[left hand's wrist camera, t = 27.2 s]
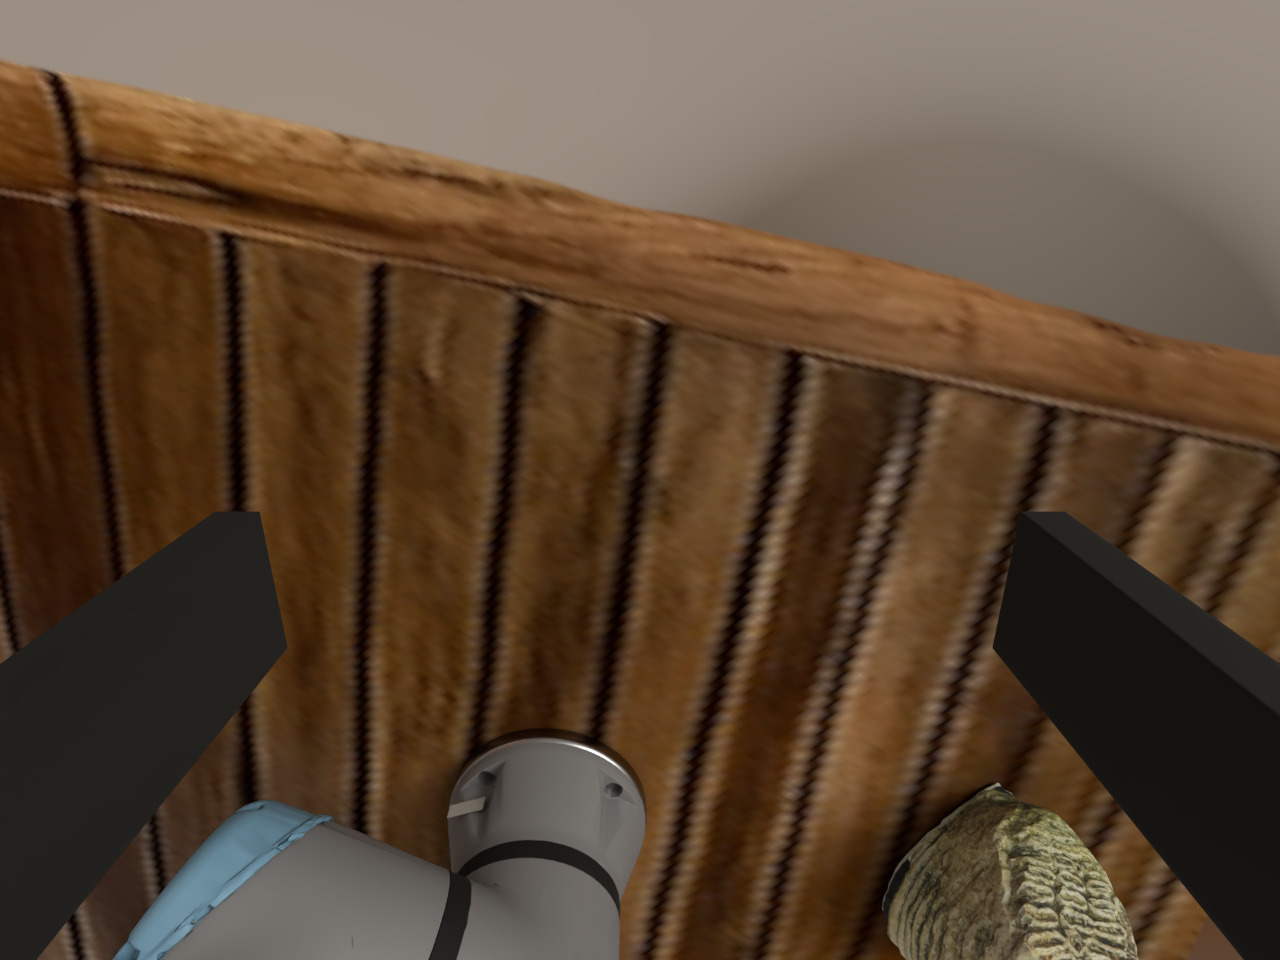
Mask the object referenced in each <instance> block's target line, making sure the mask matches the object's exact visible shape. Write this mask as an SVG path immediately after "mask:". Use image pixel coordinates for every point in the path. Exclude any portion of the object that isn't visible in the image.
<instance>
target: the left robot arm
mask: <svg viewBox="0 0 1280 960" xmlns="http://www.w3.org/2000/svg"><path fill="white" fill-rule="evenodd" d="M286 649H287V644H286V639H285V634H284V629H283V624H282V619H281V614H280V609H279V605H278V600H277V595H276V590H275V585H274V580H273V575H272V571H271V566H270V561H269V556H268V551H267V546H266V541H265V536H264V532H263V527H262V522H261V517H260V512H214V513H213V514H211V515H210V516H208V517H207V518H205V519H204V520H203V521H201V522H200V523H198V524H197V525H196V526H194V527H193V528H191V529H190V530H189V531H187V532H186V533H184V534H183V535H182V536H180V537H179V538H177V539H176V540H174V541H173V542H172V543H170V544H169V545H167V546H166V547H165V548H163V549H162V550H160V551H159V552H158V553H156V554H155V555H153V556H152V557H150V558H149V559H148V560H146V561H145V562H143V563H142V564H141V565H139V566H138V567H136V568H135V569H134V570H132V571H131V572H129V573H128V574H127V575H125V576H124V577H122V578H121V579H119V580H118V581H117V582H115V583H114V584H112V585H111V586H110V587H108V588H107V589H105V590H104V591H103V592H101V593H100V594H98V595H97V596H96V597H94V598H93V599H91V600H90V601H88V602H87V603H86V604H84V605H83V606H81V607H80V608H79V609H77V610H76V611H74V612H73V613H72V614H70V615H69V616H67V617H66V618H64V619H63V620H62V621H60V622H59V623H57V624H56V625H55V626H53V627H52V628H50V629H49V630H48V631H46V632H45V633H43V634H42V635H41V636H39V637H38V638H36V639H35V640H33V641H32V642H31V643H29V644H28V645H26V646H25V647H24V648H22V649H21V650H19V651H18V652H17V653H15V654H14V655H12V656H11V657H9V658H8V659H7V660H5V661H4V662H2V663H1V664H0V960H36V959H37V958H38V957H39V956H40V954H41V953H42V952H43V951H44V949H45V948H46V947H47V946H48V944H49V943H50V942H51V941H52V940H53V938H54V937H55V936H56V935H57V933H58V932H59V931H60V930H61V928H62V927H63V926H64V925H65V923H66V922H67V921H68V920H69V918H70V917H71V916H72V915H73V913H74V912H75V911H76V910H77V908H78V907H79V906H80V905H81V904H82V902H83V901H84V900H85V899H86V897H87V896H88V895H89V894H90V892H91V891H92V890H93V889H94V887H95V886H96V885H97V884H98V882H99V881H100V880H101V879H102V877H103V876H104V875H105V874H106V872H107V871H108V870H109V869H110V868H111V866H112V865H113V864H114V863H115V861H116V860H117V859H118V858H119V856H120V855H121V854H122V853H123V851H124V850H125V849H126V848H127V846H128V845H129V844H130V843H131V841H132V840H133V839H134V838H135V836H136V835H137V834H138V833H139V832H140V830H141V829H142V828H143V827H144V825H145V824H146V823H147V822H148V820H149V819H150V818H151V817H152V815H153V814H154V813H155V812H156V810H157V809H158V808H159V807H160V805H161V804H162V803H163V802H164V801H165V799H166V798H167V797H168V796H169V794H170V793H171V792H172V791H173V789H174V788H175V787H176V786H177V784H178V783H179V782H180V781H181V779H182V778H183V777H184V776H185V774H186V773H187V772H188V771H189V769H190V768H191V767H192V766H193V765H194V763H195V762H196V761H197V760H198V758H199V757H200V756H201V755H202V753H203V752H204V751H205V750H206V748H207V747H208V746H209V745H210V743H211V742H212V741H213V740H214V738H215V737H216V736H217V735H218V733H219V732H220V731H221V730H222V729H223V727H224V726H225V725H226V724H227V722H228V721H229V720H230V719H231V717H232V716H233V715H234V714H235V712H236V711H237V710H238V709H239V707H240V706H241V705H242V704H243V702H244V701H245V700H246V699H247V697H248V696H249V695H250V694H251V693H252V691H253V690H254V689H255V688H256V686H257V685H258V684H259V683H260V681H261V680H262V679H263V678H264V676H265V675H266V674H267V673H268V671H269V670H270V669H271V668H272V666H273V665H274V664H275V663H276V662H277V660H278V659H279V658H280V657H281V655H282V654H283V653H284V652H285V650H286ZM993 649H994V650H995V652H996V653H997V654H998V655H999V657H1000V658H1001V659H1002V660H1003V662H1004V663H1005V664H1006V665H1007V666H1008V668H1009V669H1010V670H1011V671H1012V673H1013V674H1014V675H1015V676H1016V678H1017V679H1018V680H1019V681H1020V683H1021V684H1022V685H1023V686H1024V688H1025V689H1026V690H1027V691H1028V693H1029V694H1030V695H1031V696H1032V698H1033V699H1034V700H1035V701H1036V702H1037V704H1038V705H1039V706H1040V707H1041V709H1042V710H1043V711H1044V712H1045V714H1046V715H1047V716H1048V717H1049V719H1050V720H1051V721H1052V722H1053V724H1054V725H1055V726H1056V727H1057V729H1058V730H1059V731H1060V732H1061V733H1062V735H1063V736H1064V737H1065V738H1066V740H1067V741H1068V742H1069V743H1070V745H1071V746H1072V747H1073V748H1074V750H1075V751H1076V752H1077V753H1078V755H1079V756H1080V757H1081V758H1082V760H1083V761H1084V762H1085V763H1086V765H1087V766H1088V767H1089V768H1090V769H1091V771H1092V772H1093V773H1094V774H1095V776H1096V777H1097V778H1098V779H1099V781H1100V782H1101V783H1102V784H1103V786H1104V787H1105V788H1106V789H1107V791H1108V792H1109V793H1110V794H1111V796H1112V797H1113V798H1114V799H1115V801H1116V802H1117V803H1118V804H1119V805H1120V807H1121V808H1122V809H1123V810H1124V812H1125V813H1126V814H1127V815H1128V817H1129V818H1130V819H1131V820H1132V822H1133V823H1134V824H1135V825H1136V827H1137V828H1138V829H1139V830H1140V832H1141V833H1142V834H1143V835H1144V837H1145V838H1146V839H1147V840H1148V841H1149V843H1150V844H1151V845H1152V846H1153V848H1154V849H1155V850H1156V851H1157V853H1158V854H1159V855H1160V856H1161V858H1162V859H1163V860H1164V861H1165V863H1166V864H1167V865H1168V866H1169V868H1170V869H1171V870H1172V871H1173V872H1174V874H1175V875H1176V876H1177V877H1178V879H1179V880H1180V881H1181V882H1182V884H1183V885H1184V886H1185V887H1186V889H1187V890H1188V891H1189V892H1190V894H1191V895H1192V896H1193V897H1194V899H1195V900H1196V901H1197V902H1198V904H1199V905H1200V906H1201V907H1202V908H1203V910H1204V911H1205V912H1206V913H1207V915H1208V916H1209V917H1210V918H1211V920H1212V921H1213V922H1214V923H1215V925H1216V926H1217V927H1218V928H1219V930H1220V931H1221V932H1222V933H1223V935H1224V936H1225V937H1226V938H1227V939H1228V941H1229V942H1230V943H1231V944H1232V946H1233V947H1234V948H1235V949H1236V951H1237V952H1238V953H1239V954H1240V956H1241V957H1242V958H1243V959H1244V960H1280V663H1279V662H1276V661H1275V660H1273V659H1272V658H1271V657H1269V656H1268V655H1266V654H1265V653H1263V652H1262V651H1261V650H1259V649H1258V648H1256V647H1255V646H1254V645H1252V644H1251V643H1249V642H1248V641H1247V640H1245V639H1244V638H1242V637H1241V636H1239V635H1238V634H1237V633H1235V632H1234V631H1232V630H1231V629H1230V628H1228V627H1227V626H1225V625H1224V624H1223V623H1221V622H1220V621H1218V620H1217V619H1216V618H1214V617H1213V616H1211V615H1210V614H1208V613H1207V612H1206V611H1204V610H1203V609H1201V608H1200V607H1199V606H1197V605H1196V604H1194V603H1193V602H1192V601H1190V600H1189V599H1187V598H1186V597H1184V596H1183V595H1182V594H1180V593H1179V592H1177V591H1176V590H1175V589H1173V588H1172V587H1170V586H1169V585H1168V584H1166V583H1165V582H1163V581H1162V580H1161V579H1159V578H1158V577H1156V576H1155V575H1153V574H1152V573H1151V572H1149V571H1148V570H1146V569H1145V568H1144V567H1142V566H1141V565H1139V564H1138V563H1137V562H1135V561H1134V560H1132V559H1131V558H1129V557H1128V556H1127V555H1125V554H1124V553H1122V552H1121V551H1120V550H1118V549H1117V548H1115V547H1114V546H1113V545H1111V544H1110V543H1108V542H1107V541H1106V540H1104V539H1103V538H1101V537H1100V536H1098V535H1097V534H1096V533H1094V532H1093V531H1091V530H1090V529H1089V528H1087V527H1086V526H1084V525H1083V524H1082V523H1080V522H1079V521H1077V520H1076V519H1075V518H1073V517H1072V516H1070V515H1069V514H1067V513H1066V512H1020V517H1019V522H1018V527H1017V532H1016V536H1015V541H1014V546H1013V551H1012V556H1011V561H1010V566H1009V571H1008V575H1007V580H1006V585H1005V590H1004V595H1003V600H1002V605H1001V609H1000V614H999V619H998V624H997V629H996V634H995V639H994V644H993ZM447 818H448V833H449V846H450V858H451V871H452V872H451V871H449V870H447V869H445V868H443V867H440V866H438V865H435V864H433V863H430V862H428V861H426V860H423V859H421V858H418V857H416V856H414V855H411V854H409V853H407V852H404V851H402V850H400V849H398V848H395V847H393V846H391V845H388V844H386V843H384V842H381V841H379V840H377V839H375V838H372V837H370V836H368V835H365V834H363V833H361V832H358V831H356V830H354V829H352V828H349V827H347V826H345V825H342V824H340V823H338V822H335V821H333V817H331V816H329V815H319V816H318V815H315V814H312V813H309V812H306V811H304V810H301V809H298V808H295V807H292V806H290V805H287V804H284V803H281V802H278V801H275V800H260V801H256V802H253V803H250V804H248V805H246V806H244V807H242V808H240V809H239V810H237V811H236V812H235V813H233V814H232V815H231V816H230V817H229V818H227V819H226V820H225V821H224V822H223V823H222V824H221V825H220V826H219V827H218V828H217V829H216V830H215V831H214V832H213V833H212V834H211V835H210V836H209V837H208V838H207V839H206V840H205V841H204V843H203V844H202V845H201V846H200V847H199V848H198V849H197V850H196V852H195V853H194V854H193V855H192V856H191V857H190V858H189V860H188V861H187V862H186V863H185V864H184V865H183V867H182V868H181V869H180V870H179V871H178V873H177V874H176V875H175V876H174V877H173V879H172V880H171V881H170V882H169V884H168V885H167V886H166V887H165V889H164V890H163V891H162V892H161V893H160V895H159V896H158V897H157V899H156V900H155V901H154V902H153V904H152V905H151V906H150V907H149V909H148V910H147V911H146V913H145V914H144V915H143V917H142V918H141V919H140V921H139V922H138V923H137V925H136V926H135V928H134V929H133V930H132V932H131V933H130V935H129V938H128V941H127V942H126V943H125V944H124V945H123V946H122V947H121V948H120V950H119V951H118V953H117V954H116V956H115V957H114V958H113V959H112V960H619V933H620V901H621V898H622V896H623V893H624V891H625V888H626V886H627V883H628V880H629V878H630V875H631V873H632V870H633V868H634V865H635V863H636V860H637V857H638V855H639V852H640V850H641V847H642V844H643V839H644V834H645V829H646V800H645V794H644V790H643V787H642V784H641V782H640V780H639V778H638V776H637V774H636V773H635V771H634V770H633V769H632V767H631V766H630V765H629V764H628V762H627V761H626V760H625V759H624V758H623V757H621V756H620V755H619V754H618V753H617V752H615V751H614V750H613V749H611V748H610V747H608V746H607V745H605V744H603V743H601V742H599V741H597V740H595V739H593V738H590V737H588V736H585V735H582V734H579V733H575V732H570V731H565V730H557V729H534V730H526V731H520V732H516V733H512V734H509V735H506V736H503V737H501V738H498V739H496V740H494V741H492V742H490V743H489V744H487V745H486V746H484V747H483V748H481V749H480V750H479V751H477V752H476V753H475V754H474V755H473V756H472V757H471V758H470V759H469V760H468V761H467V763H466V764H465V765H464V767H463V768H462V770H461V772H460V774H459V776H458V778H457V781H456V783H455V786H454V789H453V793H452V796H451V799H450V804H449V812H448V816H447Z"/></svg>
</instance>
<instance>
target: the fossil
mask: <svg viewBox="0 0 1280 960" xmlns="http://www.w3.org/2000/svg"><path fill="white" fill-rule="evenodd" d="M882 910H883V912H884V914H885V918H886V921H887V935H888V937H889V938H890V940H891V941H892V942H893V943H894V944H895V945H896V946H897V947H898V948H899V949H900V953H901V955H902V956H903V957H904V958H905V959H906V960H1139V959H1138V957H1137V946H1136V944H1135V941H1134V937H1133V933H1132V929H1131V924H1130V921H1129V919H1128V916H1127V914H1126V912H1125V909H1124V907H1123V905H1122V903H1121V902H1120V901H1119V899H1118V898H1117V897H1116V896H1115V895H1114V892H1113V888H1112V885H1111V883H1110V881H1109V879H1108V876H1107V874H1106V872H1105V871H1104V870H1102V868H1101V865H1100V864H1099V863H1098V862H1097V861H1096V859H1095V858H1094V856H1093V855H1092V853H1091V852H1090V851H1089V850H1088V849H1087V847H1086V846H1085V845H1084V844H1083V842H1082V841H1081V840H1080V838H1079V837H1078V836H1077V834H1076V833H1075V832H1074V831H1073V830H1072V829H1071V828H1070V827H1069V826H1068V824H1067V823H1066V822H1065V821H1064V820H1062V819H1061V818H1060V817H1059V816H1058V815H1057V814H1056V813H1054V812H1052V811H1050V810H1048V809H1046V808H1044V807H1038V806H1035V805H1032V804H1027V803H1022V802H1018V801H1017V800H1016V799H1015V796H1014V795H1013V794H1012V793H1010V792H1008V791H1006V790H1004V789H1003V788H1002V787H1001V785H1000V784H999V783H997V784H995V785H992V786H990V787H988V788H986V789H984V790H982V791H981V792H979V793H978V794H977V795H976V796H975V797H974V798H972V799H971V800H969V801H967V802H966V803H964V804H963V805H962V806H960V807H959V808H957V809H956V810H955V811H954V812H953V813H952V814H950V815H949V816H947V817H946V818H945V819H943V820H942V822H941V823H940V825H939V826H937V827H936V828H934V829H933V830H931V831H930V832H928V833H927V834H926V835H925V836H924V837H923V838H922V839H921V840H920V841H919V842H918V843H917V844H916V845H915V846H914V847H913V848H912V849H911V850H910V851H909V852H908V853H907V854H906V856H905V857H904V858H903V859H902V861H901V862H900V863H899V864H898V866H897V868H896V869H895V871H894V873H893V876H892V878H891V880H890V882H889V884H888V890H887V892H886V893H885V895H884V898H883V904H882Z"/></svg>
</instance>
